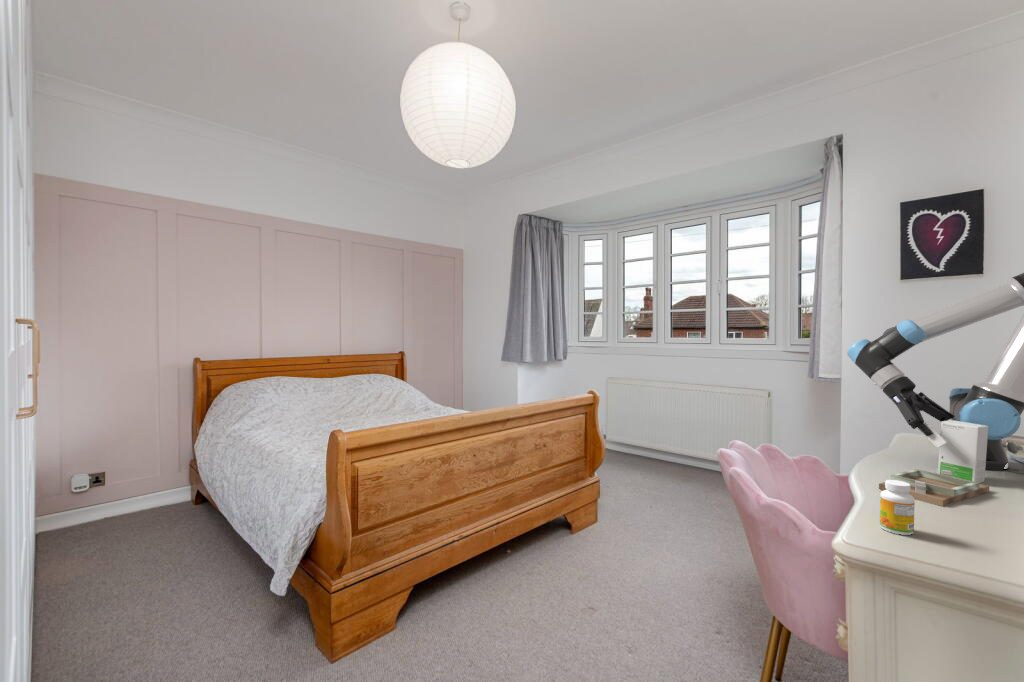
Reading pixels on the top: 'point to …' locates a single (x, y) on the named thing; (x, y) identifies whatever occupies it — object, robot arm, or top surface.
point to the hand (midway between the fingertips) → (954, 442)
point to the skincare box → (963, 450)
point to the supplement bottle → (897, 508)
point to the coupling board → (938, 486)
